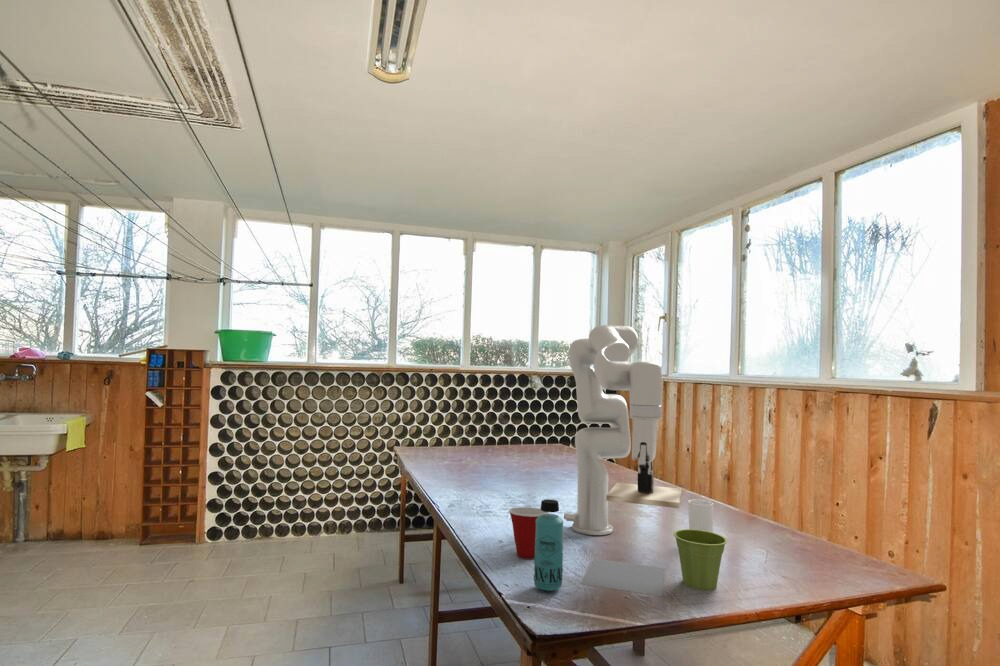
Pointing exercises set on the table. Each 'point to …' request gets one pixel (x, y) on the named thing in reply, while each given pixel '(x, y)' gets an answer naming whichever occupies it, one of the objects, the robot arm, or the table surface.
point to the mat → (625, 577)
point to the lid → (645, 495)
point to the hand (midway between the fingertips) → (645, 488)
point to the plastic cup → (525, 530)
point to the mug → (700, 515)
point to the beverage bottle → (548, 548)
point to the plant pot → (700, 557)
